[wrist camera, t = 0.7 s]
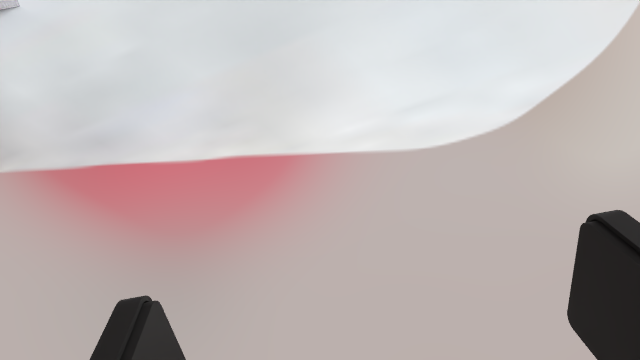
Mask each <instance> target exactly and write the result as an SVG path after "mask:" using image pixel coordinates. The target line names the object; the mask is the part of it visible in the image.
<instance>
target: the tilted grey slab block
mask: <svg viewBox="0 0 640 360" xmlns="http://www.w3.org/2000/svg"><path fill="white" fill-rule="evenodd" d="M18 6H20V5H19V3H18V0H0V10H1V9H6V8H12V7H18Z"/></svg>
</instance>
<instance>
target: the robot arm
mask: <svg viewBox="0 0 640 360" xmlns="http://www.w3.org/2000/svg"><path fill="white" fill-rule="evenodd" d="M567 315H568V320H569V323H570V325H571V327H572V328H573V330H574V331H575V332H576V333H577V334H578V336H579V337H580V338H581V340H582V341H583V342H584V343H585V345H586V346H587V347H588V348H589V350H590V351H591V352H592V353H593V355H594V356H595V357H596V359H597V360H640V223H639V222H638V221H636V220H635V219H634V218H632V217H631V216H630V215H628V214H627V213H625V212H623V211H621V210H614V211H609V212H603V213H598V214H593V215H590V216H589V217H588V218H587V220H586V223H583V224H582V225H581V227H580V232H579V238H578V245H577V252H576V258H575V264H574V271H573V278H572V284H571V291H570V297H569V304H568V311H567ZM90 360H186V359H185V357H184V355H183V352H182V350H181V348H180V346H179V343H178V341H177V339H176V337H175V335H174V333H173V330H172V328H171V326H170V324H169V321H168V319H167V317H166V315H165V313H164V310H163V308H162V306H161V304H160V302H158V301H152V299H151V298H150V297H149V296H141V297H135V298H130V299H125V300H121V301H119V302H118V303H117V305H116V306H115V308H114V310H113V312H112V315H111V317H110V319H109V321H108V323H107V325H106V327H105V329H104V331H103V333H102V335H101V337H100V339H99V342H98V344H97V346H96V348H95V350H94V352H93V354H92V356H91V358H90Z"/></svg>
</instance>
